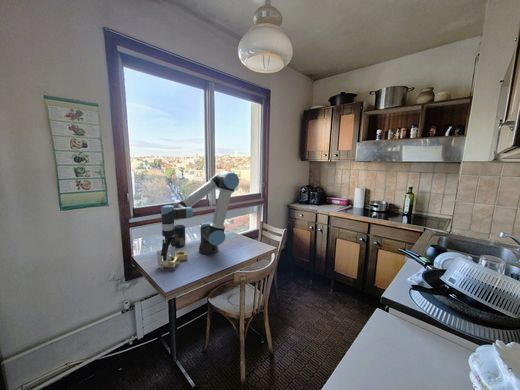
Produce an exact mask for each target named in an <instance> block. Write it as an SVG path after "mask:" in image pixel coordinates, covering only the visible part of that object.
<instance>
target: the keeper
mask: <svg viewBox="0 0 520 390" xmlns="http://www.w3.org/2000/svg"><path fill="white" fill-rule="evenodd" d="M161 252H162V249H161V250H157V252H156V253H157V256H156V257H157V266H158V267H159V268H158V270H159V272H175V271H176V270H177V269H178V268H179V266H180V265H181V261H179V262H178V263H177V264H176V265H175V267H174V268H169V267H162V266H161V261H162V260H163V256H161ZM167 255H168V260H169V261H172V257H171V254H167Z"/></svg>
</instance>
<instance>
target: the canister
mask: <svg viewBox="0 0 520 390" xmlns="http://www.w3.org/2000/svg"><path fill="white" fill-rule="evenodd" d="M174 227H175V228H174V230H175V234H174V236H175V240H176V245H177V246H175V248H176V247H177V248H180V247H184V246H185V245H186V226H185V225H184V224H174ZM174 243H175V242H174Z"/></svg>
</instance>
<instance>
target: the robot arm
mask: <svg viewBox="0 0 520 390" xmlns="http://www.w3.org/2000/svg"><path fill="white" fill-rule="evenodd" d="M239 184H240V178H239V176H238V174H236V173H235V172H232V171H226V170H225V171H224V170H223V171H220V172H218V173H216V174H214V175H213V176H212V177H211V178H209V181H207V182H206V183H205V184H203V185H202V186H201V187H199V188H197V190H194V191H193V192H192V193H191V194H189V195H187V197H185V198H184V199H182V200H180V201H179V202H176V203H174V204H173V205H163V206H161V209H160V211H161V213H160V214H161V215H160V217H161V235H162V236H163V237H164V239H162V243H161V244H162V245H161V251H162V252H161V256H162V260H163V265H168V255H169V254H168V252H169V251H168V250H169V246H170V255H171V256H175V252H176V246H177V245H176V240H175V236H174V234H175V230H174V228H175V227H174V226H175V221H176V220H177V221H178V220H184V219H190V218H193V215H194V211H193V206H194V205H195V204H197V203H199V202H200V201H201V200H202V199H204V198H205V197H206V196H208V195H209V194H211V193H212V192H213V191H214V190H218V191H219V194H218V198H217V201H216V204H215V205H216V206H215V209H214V213H213V217H212V221H207V222H202V223H201V224H200V227H199V228H200V243H199V247H198V253H199V254H201V255H212V254H213V255H214V254H216V253H217V252H219V246H220V245H221V244H223V243H224V241H225V239H226V234H225V230H226V226H225V220H226V217H227V214H228V209H229V204H230V201H231V200H230V199H231V196H232V194H233V193H234V192H235V189H236V188H237V187H239ZM174 242H175V243H174Z"/></svg>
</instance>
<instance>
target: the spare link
mask: <svg viewBox="0 0 520 390" xmlns="http://www.w3.org/2000/svg"><path fill="white" fill-rule="evenodd" d="M174 257H178V262H184V261H188V253H187V251H186V250H181V251H175V256H174Z"/></svg>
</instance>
